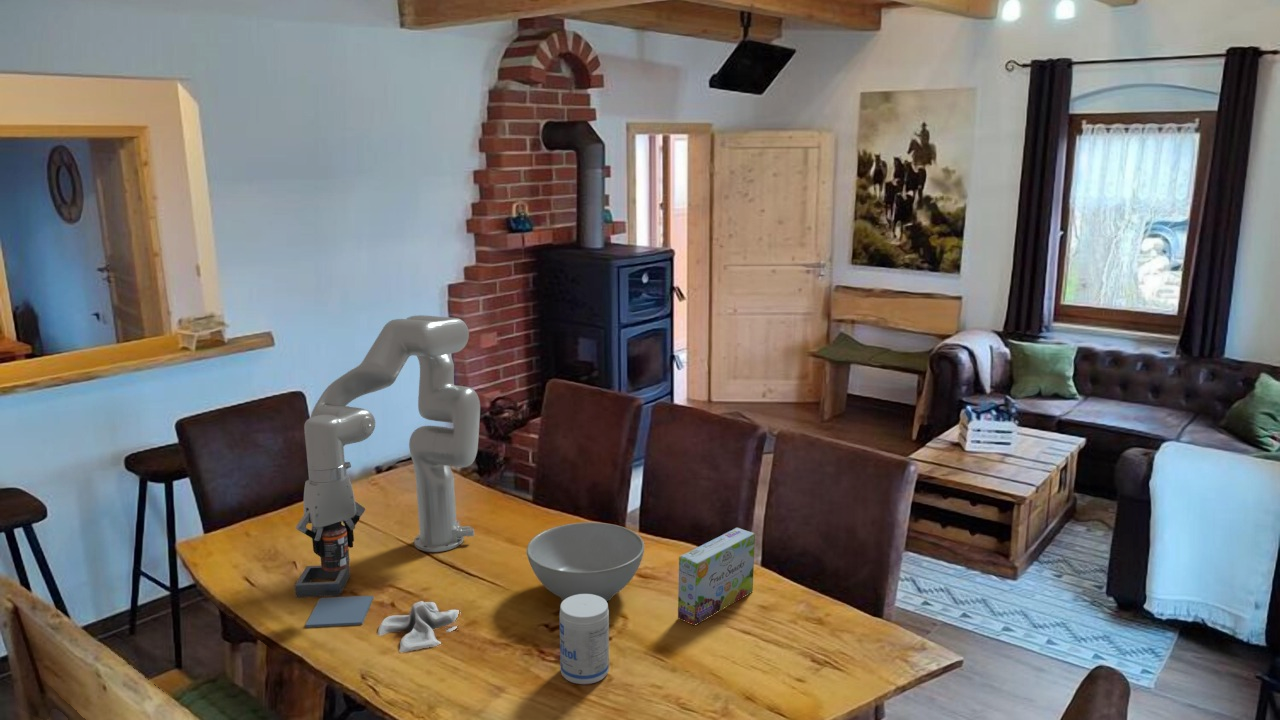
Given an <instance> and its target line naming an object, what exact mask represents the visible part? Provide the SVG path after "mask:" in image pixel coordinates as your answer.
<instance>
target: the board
mask: <svg viewBox="0 0 1280 720" xmlns="http://www.w3.org/2000/svg"><path fill="white" fill-rule="evenodd" d="M373 600H374V595H360V596H359V595H357V596H356V595H354V596H338V597H335V596H332V597H320V598H319V600H318V601H317V603H316V605H315V606H314V609H313V610H312V612H311V614H310V615H309V617H308V619H307V620H306V621H307V622H306V623H305V624H304V626H305V628H319V627H320V628H321V627H323V628H324V627H341V626H343V627H344V626H345V627H346V626H361V625H363V623H364V621H365V619H366V617H367V615H368V612H369V610H370V607H371V606H372V603H373Z"/></svg>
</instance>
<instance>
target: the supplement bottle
mask: <svg viewBox="0 0 1280 720" xmlns="http://www.w3.org/2000/svg"><path fill="white" fill-rule="evenodd" d="M342 523H343V522H342V521H341V522H337V523H334V524H331V525H328V526H325V527H323V531H322V534H321V539H322V540H323V543H324V554H325V556H324V557H320V565H322V569H323V570H325V571H328V572H335V571H340V570H343V569H345V568H347V567H348V566H349V567H350V552H349V551H350V550H349V549H350V548H349V547H348V538H347V529H346V527H345V525H344V524H342Z"/></svg>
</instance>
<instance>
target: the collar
mask: <svg viewBox="0 0 1280 720" xmlns="http://www.w3.org/2000/svg"><path fill="white" fill-rule="evenodd" d="M350 569H351V568H350V565H349V566H348V567H347V568H345V569H343V570H340V571H335V572H328V571H325V570H323V569H322V565H321V564H320V565H306V566H305V567H304V569H303V571H302V572H301V575H300V577H299V578H298V580H297V581H296V583H295V584H294V591H295V592H294V593H295V599H297V598H311V597H312V598H313V597H314V598H316V597H335V596H338V597H340V596H341V595H342V593H343V591H344V588H345V587H346V585H347V582H348V581H349V579H350V577H351V570H350ZM330 579H331V580H332V579H334V580H335V581H318V582H317V581H314V582H311V581H312V580H330Z"/></svg>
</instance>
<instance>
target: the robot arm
mask: <svg viewBox="0 0 1280 720" xmlns="http://www.w3.org/2000/svg"><path fill="white" fill-rule="evenodd" d="M469 338H470V330H469V328H468V326H467V324H466V322H465V321H464V320H462V319H461V318H459V317H450V316H449V317H448V316H437V315H436V316H435V315H425V314H423V315H421V314H420V315H412V316H409V317H406V318H396V319H392V320H389V321H388V322H387V323H386V324H385V325H384V326H383V328H382V329H381V331H380V332H379V334H378V335H377V337H376V339H375V341H374V342H373V344H372V346H371V347H370V349H369V350H368V352H367V353H366V355H365V356H364V358H363V360H362V362H361V363H360V364H359V365H357V366H355V367H354V368H353V369H350V370H348V371H347V372H346V373H344V374H343V375H341V376H340V377H338V378H337V379H335V380H334V381H333V382H332V383H330V384H329V385H328V386H327V387H326V388H325V389H324V390H323V393H321V396H320V397H319V399H318V400H317V402H316V403H315V406H314V407H313V409H312V412H311V414H310V417H308V418H307V419H306V420H305V423H304V426H303V428H304V439H305V449H306V450H305V451H306V459H307V460H306V461H307V470H308V471H307V472H308V479H307V480H305V484H304V490H303V516H302V517H301V519H300V520H299V521H298V523H297V524H296V526H295V529H296V530H298V531H299V532H301V533H302V534H304V535H306V536H308V537H309V538H311V542H312V551H313V553H315V554H316V555H317V556H318V557H320V558H321V557H324V556H325V554H324V543H323V540H322V539H321V534H322V531H323V527H325V526H328V525H331V524H334V523H337V522H342V523H343V524H342V525H344V526H345V527H346V529H347V538H348V549H351V548H353V547H354V541H355V536H354V535H355V534H354V530H355V529H356V525H357V524H358V522H359V521H360V519H361V517H362V515H363V514H364V513H365V511H366V508H365V507H364V506H362V505H361V504H359V503H358V502H357V501H356V499H355V493H354V490H353V485H352V483H351V479H350V476H349V474H348V473H347V470H348V469H350V468H351V467H352V465H351V462H350V461H345V450H344V447H345V446H347V445H350V444H356V443H361V442H363V441H365V440H367V439H369V438H370V436H371V435H372V434H373V432H374V431H375V427H376V420H375V419H376V418H375V416H374V415H373V413H372V412H370V411H369V410H367V409H364V408H361V407H355V406H347V405H349V403H351V402H352V401H354V400H356V399H358V398H360V397H363V396H364V395H369V394H371V393H375V392H377V391H381V390H383V389H386V388H389V387H391V386H392V385H393V384H394V383H395V382H396V380H397V378H398V376H399V375H400V373H401V371H402V370H403V368H404V366H405V364H406V362H407V360H408V359H409V358H410V357H412V356H416V357H417V360H418V362H419V363H418V364H419V381H418V383H419V385H418V398H417V399H418V400H417V405H418V406H417V407H418V408H417V409H418V413H419V416H420V417H422V418H423V419H426V420H428V421H434V422H441V423H450V424H453V428H452V427H447V426H439V425H423V426H419V427H417V428H416V429H414V430H413V431H412V432H411V435H410V438H409V443H408V447H409V451H410V452H409V454H410V457H411V460H412V464H413V468H414V473H415V475H414V476H415V486H416V496H417V497H416V499H417V510H418V511H417V513H418V527H419V534H417V536H416V537H415V538H414V541H413V544H414V547H415V548H416V549H417V550H420V551H422V552H427V553H439V552H440V553H441V552H445V551H449V550H450V551H451V550H452V549H455V548H457V547H459V546H460V545H462V544H463V542H464V537H475V529H474V528H471V525H470V526H469V525H467V526H462V525H460V521H459V520H457V511H456V510H457V509H456V496H455V495H456V494H455V492H456V491H455V479H454V472H453V471H452V468H451V467H455V468H467V467H469V466H471V465H472V464H473V463H474V461H475V460H476V457H477V454H478V449H479V436H480V435H479V433H480V421H481V420H480V419H481V401H480V397H479V396H478V393H477V392H476V391H475V390H474V389H473V388H471V387H468V386H463V385H455V383H454V382H455V381H454V380H455V379H454V378H455V364H454V360H453V358H452V356H451V355H452V354H455V353H456V354H457V353H459V352H460V351H463V349H464V348H465V347H466V345H467V343H468V341H469ZM308 524H311V527H310V529H309V528H307V526H308Z"/></svg>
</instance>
